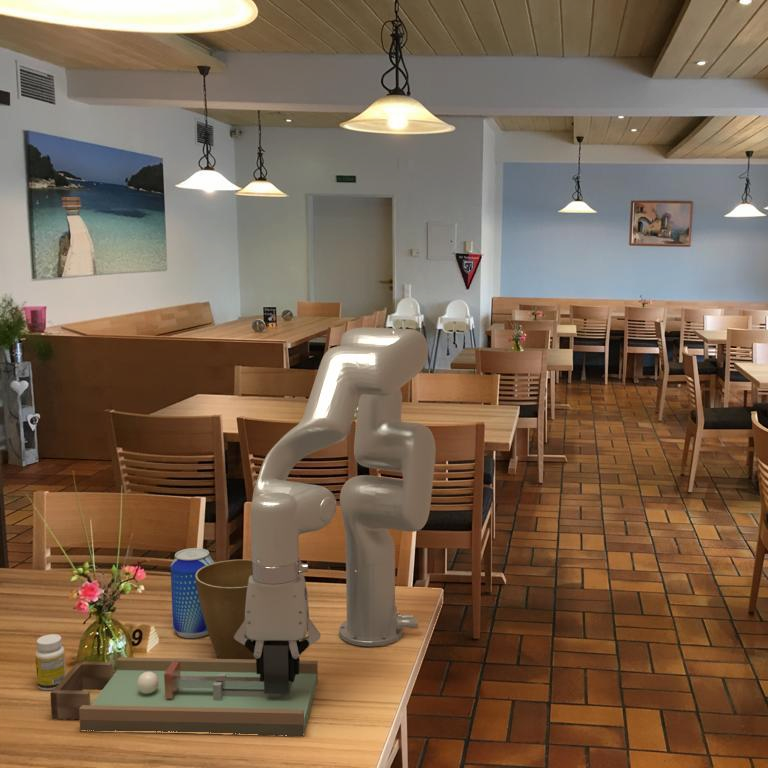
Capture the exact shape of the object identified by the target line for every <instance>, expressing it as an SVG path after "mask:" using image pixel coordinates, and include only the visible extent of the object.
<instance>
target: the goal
mask: <svg viewBox="0 0 768 768" xmlns="http://www.w3.org/2000/svg"><path fill="white" fill-rule="evenodd" d="M113 670H114V669H113V661H77V662H76V663H75V664H74V665H73V666H72V667H71V669H70V670H69V671H68V673H66V676H65V677H64V678H63V679H62V681H61V682H60V683H59V684H58V685H57V686H56V687H55V689H54V690H51V692H50V711H51V720H52V719H79V720H78V721H80V717H79V708H80V707H81V706H82V705H91V691H90V690H101V691H102V690H103V688H104V687H105V686H106V684H107V683H108V682H109V681H110V679H111V678H112V677H113V675H114V671H113Z"/></svg>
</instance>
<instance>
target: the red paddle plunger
mask: <svg viewBox="0 0 768 768" xmlns="http://www.w3.org/2000/svg"><path fill="white" fill-rule="evenodd" d="M290 655H291V650H290V645H289V641H265V642H264V645H263V660H264V682H260V677H214V676H180V661H172V663H171V664H170V666H169V667H168V669H167V671H166V672H165V674H164V681H165V699H173V697H174V695H175V694H176V692H177V690H178V688H209V689H213V684H214V682H222V689H261V690H264V693H265V694H289V692H290V689H291V686H292V683H293V682H290V681H289V658H290Z"/></svg>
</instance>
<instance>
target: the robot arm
mask: <svg viewBox="0 0 768 768" xmlns="http://www.w3.org/2000/svg"><path fill="white" fill-rule="evenodd" d="M339 343H340V344H339V346H338V345H337V346H334V347H331V348H330V349H328V350H327V351H326V352H325V353H324V355H323V356H322V359H321V361H320V363H319V366H318V370H317V373H316V376H315V378H314V382H313V385H312V388H311V392H310V395H309V398H308V400H307V404H306V406H305V409H304V413H303V416H302V418H301V420H300V422H299V423H298V424H297V425H295V426H294V427H292V428H291V429H290V430H289V431H288V432H286V434H283V436H282V437H281V438H280V439H279V441H277V443H275V444H274V445H273V446H272V448H271V449H270V450H269V452H268V453H267V454H266V456H265V458H264V460H263V462H262V464H261V467H260V470H259V473H258V476H257V479H256V482H255V485H254V488H253V493H252V500H251V504H250V536H251V538H250V540H251V544H250V545H251V560H252V575H251V576H250V577H249V580H248V586H247V592H246V604H245V620H244V621H243V623H242V624H241V625H240V627H239V628H238V630H237V631H236V633H235V635H234V639H235V640H237V641H238V642H240V643H241V644H244V645H245V647H246V648H247V649H249V650H250V651H251V652H252V653H253V654H254V659H255V660H256V670H257V674H260V682H264V660H263V645H264V642H265V641H289V645H290V650H291V655H290V658H289V681H290V682H294V679H295V675H296V674H299V660H300V656H301V655H302V653H304V652H305V651H306V650H307V649H308V648H309V647H310V646H311V645H313V644H315V643H316V642H317V641H319V640H321V639H320V638H321V632H320V631H319V630H318V628H317V627H316V625H315V624H314V622H313V621H312V620H311V619H310V607H309V598H308V588H307V584H306V579H305V575H303V574H301V573H308V572H309V563H304V562H302V561H301V558H300V555H299V554H300V549H299V546H300V545H299V544H300V543H299V537H300V535H301V534H307V533H313V532H317V531H320V530H322V529H325V528H326V527H327V526H328V525H329V524H330V523H331V522H332V521H333V519H334V517H335V515H336V512H337V500H336V499H337V498H336V497H335V495H334V494H333V492H332V491H331V490H329V489H328V488H326V487H324V486H322V485H317V484H311V483H303V482H300V481H299V482H297V481H290V480H287V478H288V477H289V474H290V473H291V471H292V470H293V469H294V467H295V465H297V464H298V463H299V462H300V461H301V460H302V459H304V458H306V457H307V456H308V455H311V454H312V453H313V454H314V453H315V452H319V451H320V450H323V449H326V448H329V447H330V446H333V445H336V444H338V443H341V442H342V441H344V440H346V439H347V437H348V436H349V434H350V432H351V427H352V425H353V421H354V418H355V414H356V422H355V432H354V440H353V442H354V443H353V456H354V460H355V461H356V462H357V463H358V464H359V465H360V466H361V467H365V468H370V469H373V470H381V471H390V472H396V473H397V472H399V473H402V479H399V478H391V477H385V476H379V475H378V476H377V475H369V474H364V475H363V474H362V475H357V476H352V477H351V478H349V479H347V480H346V481H345V483H344V484H343V486H342V487H341V490H340V494H339V507H340V512H341V517H342V520H343V527H344V535H345V536H344V537H345V573H346V575H345V576H346V577H345V582H346V583H345V585H346V586H345V587H346V589H345V590H346V592H345V593H346V596H345V597H346V620H345V621H343V622H342V623H341V624H340V626H339V627H338V636H339V637H340V638H341V640H343V641H344V642H346V643H348V644H350V645H353V646H354V645H355V646H359V647H368V648H369V647H382V646H387V645H390V644H393V643H395V642H397V641H398V640H401V638H402V637H403V634H404V628H409V629H418V628H419V618H418V617H413V614H412V613H405V614H402V613H401V612H398V606H396V558H395V557H396V548H395V544H394V539H393V537H392V535H391V533H390V531H389V530H394V531H400V532H401V531H402V532H407V533H409V532H414V533H415V532H418V531H420V530H422V529H423V528H424V527H425V525H427V522H428V519H429V515H430V511H431V503H432V493H433V484H434V474H435V465H436V453H437V452H436V450H437V449H436V440H435V437H434V434H433V432H432V431H431V429H430V428H429V427H428V426H426V425H424V424H421V423H419V422H418V423H417V422H407V421H402V408H403V407H402V406H403V393H402V391H401V388H402V387H403V386H405V385H406V384H408V382H410V381H411V380H412V379H414V378H415V377H416V376H417V375H419V374H420V372H421V371H422V370H423V369H424V367H425V366H426V363H427V361H428V355H429V346H428V341H427V340H426V337H425V335H424V334H422V333H421V332H420V331H418V330H416V329H413V328H412V329H411V328H393V327H391V328H390V327H389V328H387V327H386V328H385V327H375V326H374V327H370V326H369V327H366V326H364V327H354V328H350V329H348V330H346V331H345V332H344V333H343V334H342V336H341V337H340V342H339ZM356 411H357V412H356ZM307 633H308V635H307ZM255 640H256V641H255Z"/></svg>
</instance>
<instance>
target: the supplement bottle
mask: <svg viewBox="0 0 768 768" xmlns="http://www.w3.org/2000/svg"><path fill="white" fill-rule="evenodd" d="M62 641H63V640H62V635H59V634H56V633H55V634H54V633H53V634H46V635H45V634H44V635H42V636H40V637H38V638H37V639H36V648H37V650H36V651H35V656H34V657H35V666H36V667H35V669H36V679H37V680H36V683H37V687H38V689H39V690H41V691H53V690H54V689H55V687H56V686H57V685H58V684H59V683H60V682H61V681H62V679H63V678H64V677H65V676H66V675H67V671H66V669H67V668H66V655H65V654H66V653H65V647H64V646H63V643H62Z"/></svg>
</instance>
